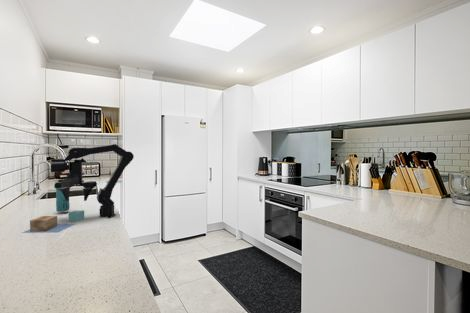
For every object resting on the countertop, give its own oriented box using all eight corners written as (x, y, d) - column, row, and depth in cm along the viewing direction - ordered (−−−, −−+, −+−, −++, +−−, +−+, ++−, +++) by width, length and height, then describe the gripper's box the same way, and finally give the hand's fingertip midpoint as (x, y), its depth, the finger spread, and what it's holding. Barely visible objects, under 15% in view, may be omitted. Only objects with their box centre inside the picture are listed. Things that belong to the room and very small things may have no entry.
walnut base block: (57, 226, 113) (57, 216, 113) (46, 231, 106) (45, 220, 106) (42, 226, 113) (42, 216, 113) (30, 231, 106) (29, 220, 106)
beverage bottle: (62, 214, 135) (61, 180, 134) (53, 214, 136) (52, 179, 136) (72, 211, 141) (71, 178, 141) (63, 211, 143) (62, 178, 142)
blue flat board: (75, 225, 117) (75, 223, 117) (58, 233, 105) (58, 232, 105) (42, 225, 116) (42, 224, 116) (21, 234, 104) (21, 232, 104)
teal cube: (84, 219, 126) (84, 210, 126) (78, 222, 121) (78, 212, 121) (74, 219, 126) (74, 210, 126) (68, 222, 121) (68, 213, 121)
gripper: (45, 173, 114) (46, 204, 115) (84, 172, 115) (85, 204, 116) (61, 171, 126) (62, 199, 126) (97, 170, 126) (97, 199, 127)
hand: (76, 201), depth 123 cm, fingers open, 9 cm apart
